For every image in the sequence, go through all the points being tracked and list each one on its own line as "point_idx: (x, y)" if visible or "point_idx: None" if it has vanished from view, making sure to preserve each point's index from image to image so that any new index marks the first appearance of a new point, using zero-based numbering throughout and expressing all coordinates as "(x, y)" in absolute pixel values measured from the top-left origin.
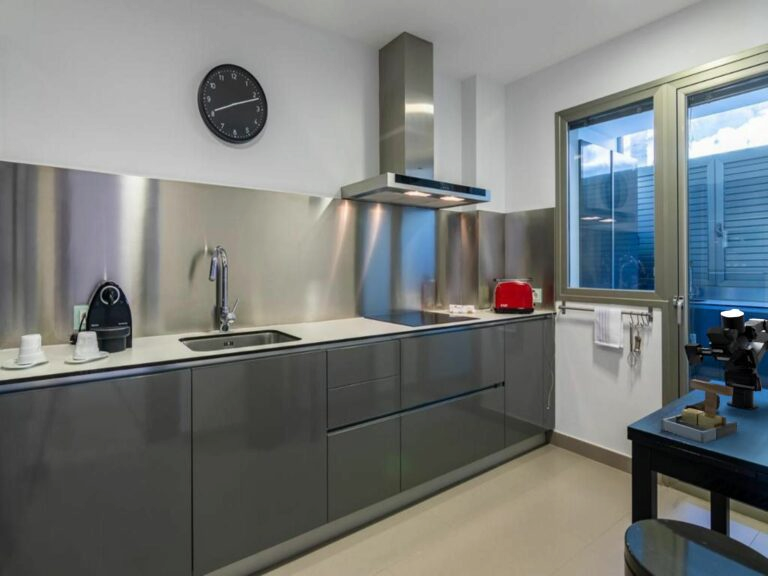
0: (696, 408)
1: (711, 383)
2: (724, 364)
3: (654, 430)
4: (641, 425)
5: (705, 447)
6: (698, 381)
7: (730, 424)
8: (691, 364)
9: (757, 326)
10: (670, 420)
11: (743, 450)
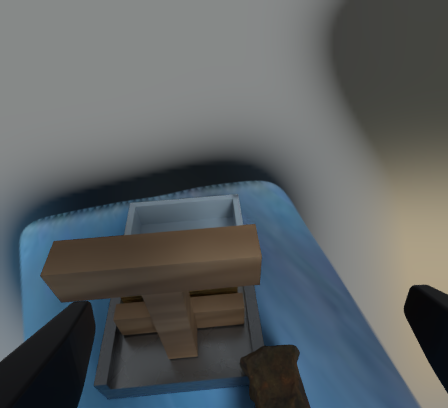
0: (251, 352)
1: (153, 252)
2: (68, 324)
3: (240, 199)
4: (277, 199)
5: (124, 209)
6: (215, 232)
7: (104, 330)
8: (415, 311)
9: None
10: (235, 222)
11: None
